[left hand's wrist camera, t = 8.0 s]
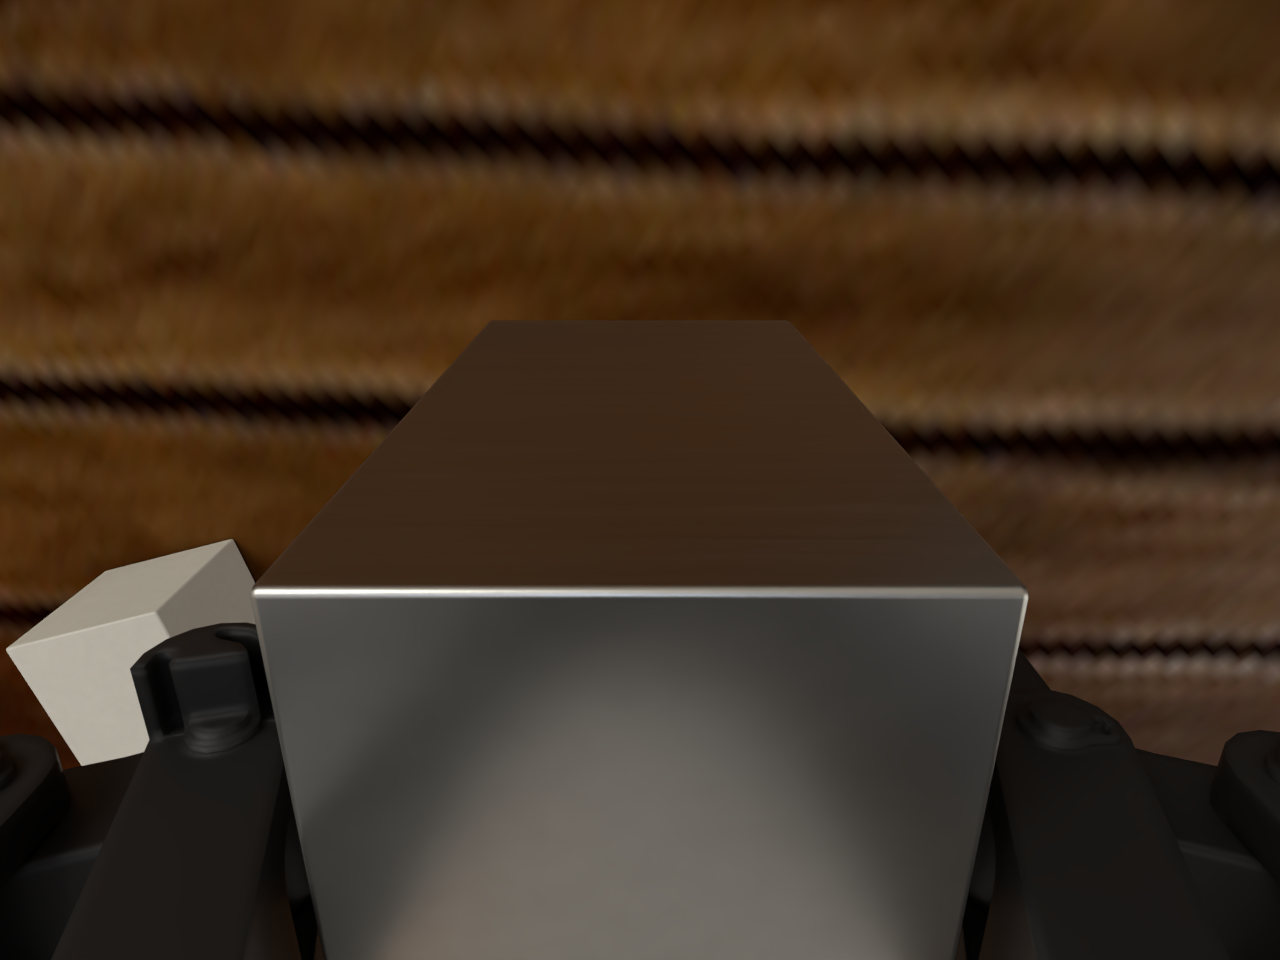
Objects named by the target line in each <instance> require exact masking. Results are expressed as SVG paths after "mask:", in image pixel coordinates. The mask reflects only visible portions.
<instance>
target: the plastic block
mask: <svg viewBox="0 0 1280 960" xmlns="http://www.w3.org/2000/svg"><path fill="white" fill-rule="evenodd" d="M254 584H255V582H254V580H253V578H252V576H251V574H250V572H249V570H248V568H247V566H246V564H245V562H244V560H243V558H242V556H241V554H240V552H239V550H238V548H237V546H236V544H235V542H234V540H233V539H229V540H226V541H222V542H218V543H214V544H210V545H206V546H202V547H198V548H194V549H190V550H186V551H182V552H178V553H175V554H171V555H167V556H163V557H159V558H155V559H151V560H147V561H143V562H139V563H135V564H131V565H127V566H124V567H120V568H116V569H112V570H108V571H105V572H104V573H103V574H101V575H100V576H99V577H97V578H96V579H95V580H94V581H92V582H91V583H90V584H89V585H87V586H86V587H85V588H83V589H82V590H81V591H80V592H78V593H77V594H76V595H74V596H73V597H72V598H71V599H69V600H68V601H67V602H65V603H64V604H63V605H62V606H60V607H59V608H58V609H56V610H55V611H54V612H53V613H51V614H50V615H49V616H48V617H46V618H45V619H44V620H42V621H41V622H40V623H39V624H37V625H36V626H35V627H33V628H32V629H31V630H30V631H28V632H27V633H26V634H24V635H23V636H22V637H21V638H19V639H18V640H17V641H15V642H14V643H13V644H12V645H10V646H9V647H8V648H7V649H6V651H7V653H8V654H9V656H10V657H11V659H12V660H13V662H14V663H15V665H16V666H17V668H18V669H19V671H20V672H21V674H22V675H23V677H24V678H25V680H26V682H27V683H28V685H29V686H30V688H31V689H32V691H33V692H34V694H35V695H36V697H37V698H38V700H39V701H40V703H41V704H42V706H43V708H44V709H45V711H46V712H47V714H48V715H49V717H50V718H51V720H52V721H53V723H54V724H55V726H56V727H57V729H58V730H59V732H60V733H61V735H62V737H63V738H64V740H65V741H66V743H67V744H68V746H69V747H70V749H71V750H72V752H73V753H74V755H75V756H76V758H77V759H78V761H79V762H80V764H81V766H84V765H89V764H94V763H99V762H103V761H108V760H113V759H118V758H123V757H127V756H131V755H135V754H138V753H142V752H144V751H145V749H146V746H147V744H148V742H149V736H148V733H147V729H146V725H145V722H144V718H143V715H142V711H141V707H140V704H139V700H138V697H137V693H136V689H135V686H134V682H133V679H132V675H131V671H130V668H131V667H132V666H133V665H134V664H135V662H136V661H137V660H138V659H139V658H140V657H141V656H142V655H143V653H145V652H147V651H148V650H150V649H151V648H153V647H155V646H156V645H158V644H159V643H161V642H163V641H164V640H166V639H168V638H171V637H174V636H176V635H179V634H181V633H184V632H186V631H189V630H192V629H195V628H200V627H205V626H210V625H214V624H219V623H242V622H247V623H252V624H256V623H255V618H254V613H253V609H252V604H251V599H250V595H251V590H252V587H253V585H254Z"/></svg>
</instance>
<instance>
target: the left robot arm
mask: <svg viewBox="0 0 1280 960" xmlns="http://www.w3.org/2000/svg"><path fill="white" fill-rule="evenodd" d="M130 671H131V675H132V679H133V682H134V686H135V689H136V693H137V697H138V700H139V704H140V707H141V711H142V715H143V718H144V722H145V725H146V729H147V733H148V736H149V742H148V744H147V746H146V749H145V751H144V752H142V753H138V754H135V755H131V756H127V757H123V758H118V759H113V760H108V761H103V762H99V763H94V764H89V765H84V766H79V767H74V768H69V769H65V770H63V769H62V766H61V763H60V760H59V757H58V754H57V751H56V748H55V746H54V745H53V744H51V743H50V742H49V741H47V740H46V739H45V738H43V737H40V736H33V735H25V734H15V735H7V736H0V960H324V957H323V952H322V947H321V942H320V937H319V932H318V927H317V923H316V918H315V913H314V908H313V903H312V898H311V893H310V888H309V883H308V878H307V873H306V869H305V864H304V859H303V854H302V849H301V844H300V839H299V834H298V829H297V824H296V819H295V815H294V810H293V805H292V800H291V795H290V790H289V785H288V780H287V775H286V770H285V766H284V761H283V756H282V751H281V746H280V741H279V736H278V731H277V726H276V721H275V716H274V712H273V707H272V702H271V697H270V692H269V687H268V682H267V677H266V672H265V667H264V663H263V658H262V653H261V648H260V643H259V638H258V633H257V628H256V624H252V623H247V622H242V623H219V624H214V625H210V626H205V627H200V628H195V629H192V630H189V631H186V632H184V633H181V634H179V635H176V636H174V637H171V638H168V639H166V640H164V641H163V642H161V643H159V644H158V645H156V646H155V647H153V648H151V649H150V650H148V651H147V652H145V653H143V655H142V656H141V657H140V658H139V659H138V660H137V661H136V662H135V664H134V665H133V666H132V667H131V668H130ZM956 960H1280V732H1272V731H1264V730H1257V731H1250V732H1243V733H1237V734H1236V735H1235V736H1233V737H1232V738H1231V739H1230V740H1228V741H1227V742H1226V743H1225V745H1224V748H1223V751H1222V754H1221V757H1220V760H1219V763H1218V766H1213V765H1208V764H1204V763H1199V762H1194V761H1189V760H1184V759H1179V758H1174V757H1169V756H1165V755H1160V754H1155V753H1151V752H1147V751H1144V750H1140V749H1136V748H1135V747H1134V745H1133V743H1132V740H1131V738H1130V737H1129V736H1128V734H1127V733H1126V732H1125V730H1124V729H1123V728H1122V726H1121V725H1120V724H1119V722H1118V721H1116V720H1115V719H1113V718H1112V717H1111V716H1109V715H1108V714H1107V713H1105V712H1104V711H1102V710H1101V709H1100V708H1098V707H1097V706H1095V705H1092V704H1090V703H1088V702H1086V701H1083V700H1081V699H1079V698H1077V697H1074V696H1072V695H1069V694H1065V693H1060V692H1056V691H1052V690H1050V688H1049V687H1048V686H1047V685H1046V683H1045V682H1044V681H1043V679H1042V678H1041V677H1040V675H1039V674H1038V673H1037V671H1036V670H1035V669H1034V668H1033V666H1032V665H1031V664H1030V662H1029V661H1028V660H1027V658H1026V657H1025V656H1024V654H1023V653H1022V652H1021V651H1020V649H1019V648H1018V651H1017V656H1016V661H1015V666H1014V671H1013V676H1012V681H1011V686H1010V691H1009V696H1008V701H1007V705H1006V710H1005V715H1004V720H1003V725H1002V730H1001V735H1000V740H999V745H998V750H997V755H996V760H995V765H994V770H993V774H992V779H991V784H990V789H989V794H988V799H987V804H986V809H985V814H984V819H983V824H982V829H981V834H980V838H979V843H978V848H977V853H976V858H975V863H974V868H973V873H972V878H971V883H970V888H969V893H968V898H967V902H966V907H965V912H964V917H963V922H962V927H961V932H960V937H959V942H958V947H957V952H956Z"/></svg>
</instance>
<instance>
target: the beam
mask: <svg viewBox="0 0 1280 960" xmlns="http://www.w3.org/2000/svg"><path fill="white" fill-rule="evenodd" d="M250 599H251V604H252V609H253V613H254V618H255V623H256V628H257V633H258V638H259V643H260V648H261V653H262V658H263V663H264V667H265V672H266V677H267V682H268V687H269V692H270V697H271V702H272V707H273V712H274V716H275V721H276V726H277V731H278V736H279V741H280V746H281V751H282V756H283V761H284V766H285V770H286V775H287V780H288V785H289V790H290V795H291V800H292V805H293V810H294V815H295V819H296V824H297V829H298V834H299V839H300V844H301V849H302V854H303V859H304V864H305V869H306V873H307V878H308V883H309V888H310V893H311V898H312V903H313V908H314V913H315V918H316V923H317V927H318V932H319V937H320V942H321V947H322V952H323V957H324V960H955V957H956V952H957V947H958V942H959V937H960V932H961V927H962V922H963V917H964V912H965V907H966V902H967V898H968V893H969V888H970V883H971V878H972V873H973V868H974V863H975V858H976V853H977V848H978V843H979V838H980V834H981V829H982V824H983V819H984V814H985V809H986V804H987V799H988V794H989V789H990V784H991V779H992V774H993V770H994V765H995V760H996V755H997V750H998V745H999V740H1000V735H1001V730H1002V725H1003V720H1004V715H1005V710H1006V705H1007V701H1008V696H1009V691H1010V686H1011V681H1012V676H1013V671H1014V666H1015V661H1016V656H1017V651H1018V646H1019V641H1020V637H1021V632H1022V627H1023V622H1024V617H1025V612H1026V607H1027V602H1028V591H1027V588H1026V586H1025V585H1024V584H1023V582H1022V581H1021V580H1020V579H1019V578H1018V577H1017V576H1016V575H1015V573H1014V572H1013V571H1012V570H1011V569H1010V568H1009V567H1008V566H1007V564H1006V563H1005V562H1004V561H1003V560H1002V559H1001V558H1000V557H999V556H998V554H997V553H996V552H995V551H994V550H993V549H992V548H991V547H990V545H989V544H988V543H987V542H986V541H985V540H984V539H983V538H982V536H981V535H980V534H979V533H978V532H977V531H976V530H975V529H974V528H973V526H972V525H971V524H970V523H969V522H968V521H967V520H966V519H965V517H964V516H963V515H962V514H961V513H960V512H959V511H958V510H957V508H956V507H955V506H954V505H953V504H952V503H951V502H950V501H949V499H948V498H947V497H946V496H945V495H944V494H943V493H942V492H941V491H940V489H939V488H938V487H937V486H936V485H935V484H934V483H933V482H932V480H931V479H930V478H929V477H928V476H927V475H926V474H925V473H924V471H923V470H922V469H921V468H920V467H919V466H918V465H917V464H916V463H915V461H914V460H913V459H912V458H911V457H910V456H909V455H908V454H907V452H906V451H905V450H904V449H903V448H902V447H901V446H900V445H899V443H898V442H897V441H896V440H895V439H894V438H893V437H892V436H891V435H890V433H889V432H888V431H887V430H886V429H885V428H884V427H883V426H882V424H881V423H880V422H879V421H878V420H877V419H876V418H875V417H874V415H873V414H872V413H871V412H870V411H869V410H868V409H867V408H866V406H865V405H864V404H863V403H862V402H861V401H860V400H859V399H858V398H857V396H856V395H855V394H854V393H853V392H852V391H851V390H850V389H849V387H848V386H847V385H846V384H845V383H844V382H843V381H842V380H841V378H840V377H839V376H838V375H837V374H836V373H835V372H834V371H833V370H832V368H831V367H830V366H829V365H828V364H827V363H826V362H825V361H824V359H823V358H822V357H821V356H820V355H819V354H818V353H817V352H816V350H815V349H814V348H813V347H812V346H811V345H810V344H809V343H808V342H807V340H806V339H805V338H804V337H803V336H802V335H801V334H800V333H799V331H798V330H797V329H796V328H795V327H794V326H793V325H792V324H791V322H789V321H490V322H489V323H488V324H487V325H486V326H485V328H484V329H483V330H482V331H481V332H480V333H479V334H478V335H477V336H476V338H475V339H474V340H473V341H472V342H471V343H470V344H469V345H468V347H467V348H466V349H465V350H464V351H463V352H462V353H461V354H460V355H459V357H458V358H457V359H456V360H455V361H454V362H453V363H452V364H451V366H450V367H449V368H448V369H447V370H446V371H445V372H444V373H443V374H442V376H441V377H440V378H439V379H438V380H437V381H436V382H435V383H434V384H433V386H432V387H431V388H430V389H429V390H428V391H427V392H426V393H425V395H424V396H423V397H422V398H421V399H420V400H419V401H418V402H417V403H416V405H415V406H414V407H413V408H412V409H411V410H410V411H409V412H408V414H407V415H406V416H405V417H404V418H403V419H402V420H401V421H400V422H399V424H398V425H397V426H396V427H395V428H394V429H393V430H392V431H391V432H390V434H389V435H388V436H387V437H386V438H385V439H384V440H383V441H382V443H381V444H380V445H379V446H378V447H377V448H376V449H375V450H374V451H373V453H372V454H371V455H370V456H369V457H368V458H367V459H366V460H365V462H364V463H363V464H362V465H361V466H360V467H359V468H358V469H357V470H356V472H355V473H354V474H353V475H352V476H351V477H350V478H349V479H348V480H347V482H346V483H345V484H344V485H343V486H342V487H341V488H340V489H339V491H338V492H337V493H336V494H335V495H334V496H333V497H332V498H331V499H330V501H329V502H328V503H327V504H326V505H325V506H324V507H323V508H322V510H321V511H320V512H319V513H318V514H317V515H316V516H315V517H314V518H313V520H312V521H311V522H310V523H309V524H308V525H307V526H306V527H305V528H304V530H303V531H302V532H301V533H300V534H299V535H298V536H297V537H296V539H295V540H294V541H293V542H292V543H291V544H290V545H289V546H288V547H287V549H286V550H285V551H284V552H283V553H282V554H281V555H280V556H279V558H278V559H277V560H276V561H275V562H274V563H273V564H272V565H271V566H270V568H269V569H268V570H267V571H266V572H265V573H264V574H263V575H262V576H261V578H260V579H259V580H258V581H257V582H256V583H255V584H254V585H253V587H252V590H251V595H250Z"/></svg>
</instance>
